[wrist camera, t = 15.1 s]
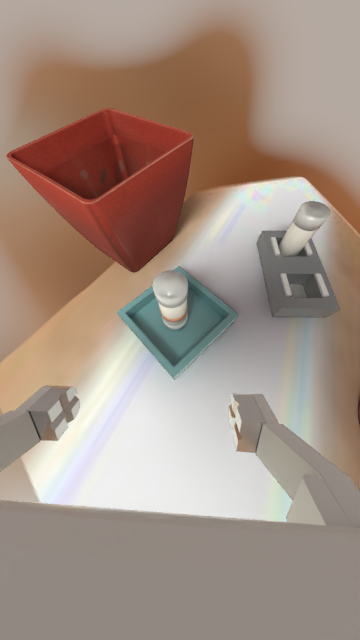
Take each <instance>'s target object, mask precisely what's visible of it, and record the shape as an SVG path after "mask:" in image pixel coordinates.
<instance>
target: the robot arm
mask: <svg viewBox="0 0 360 640" xmlns="http://www.w3.org/2000/svg"><path fill="white" fill-rule="evenodd" d="M76 394H77V390H76V388H75V387H68V386H50V385H46V386H43V387H42V388H40V389H39V390H38V391H37V392H36V393H35V394H33V395H32V396H31V397H30V398H29V399H28V400H26V401H25V402H24V403H23V404H22V405H21V406H19V407H18V408H17V409H16V410H15V411H10V412H7V413H5V414H3V415H1V416H0V472H1V471H2V470H3V469H5V468H6V467H7V466H9V465H10V464H11V463H13V462H14V461H15V460H16V459H18V458H19V457H21V456H22V455H23V454H24V453H26V452H27V451H28V450H30V449H31V448H32V447H34V446H35V445H36V444H38V443H39V442H40V440H51V441H58V440H59V439H60V437H61V436H62V435H63V433H64V432H65V431H66V429H67V428H68V423H69V422H70V421H72V420H73V419H74V418H75V417H76V415H77V414H78V411H79V408H80V401H79V399H78V398H77V397H76ZM230 402H231V405H230V406H229V410H228V416H229V423H230V427H231V428H232V429H233V440H234V444H235V448H236V451H240V452H251V453H256V455H257V456H258V458H259V459H260V460H261V461H262V463H263V464H264V465H265V466H266V468H267V469H268V470H269V471H270V473H271V474H272V475H273V476H274V478H275V479H276V480H277V481H278V483H279V484H280V485H281V486H282V488H283V489H284V490H285V491H286V493H287V494H288V495H289V496H290V498H291V499H292V500H293V502H292V505H291V507H290V510H289V512H288V515H287V517H286V518H287V520H288V522H276V521H264V520H251V519H238V518H226V517H213V516H200V515H188V514H175V513H162V512H150V511H137V510H124V509H112V508H99V507H86V506H73V505H61V504H48V503H35V502H22V501H9V500H0V640H360V491H359V490H358V488H357V487H356V485H355V484H354V483H353V481H352V480H351V479H350V477H349V476H348V475H347V474H345V473H344V472H343V471H341V470H340V469H339V468H338V467H336V466H335V465H334V464H333V463H331V462H330V461H329V460H327V459H326V458H325V457H324V456H322V455H321V454H320V453H319V452H317V451H316V450H315V449H313V448H312V447H311V446H310V445H308V444H307V443H306V442H305V441H303V440H302V439H301V438H300V437H298V436H297V435H296V434H294V433H293V432H292V431H291V430H289V429H288V428H287V427H286V426H284V425H283V424H279V423H278V421H277V419H276V417H275V415H274V414H273V412H272V410H271V408H270V406H269V405H268V403H267V401H266V399H265V397H264V396H263V395H262V394H232V393H231V395H230Z"/></svg>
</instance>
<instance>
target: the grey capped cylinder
mask: <svg viewBox="0 0 360 640" xmlns="http://www.w3.org/2000/svg"><path fill="white" fill-rule="evenodd" d="M153 291H154V294H155V297H156V300H157V302H158V304H159V307H160V312H161V315H162V319H163V322H164V325H165V326H166V328H168V329H169V330H172V331H179V330H181V329H183V328H184V327H185V326H186V324H187V320H188V314H187V296H188V282H187V279H186V277H185V276H184V275H183V274H181V273H179V272H177V271H165V272H162V273H161V274H159V275H158V276H157V277H156V278H155V279H154V281H153Z"/></svg>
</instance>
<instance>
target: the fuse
mask: <svg viewBox="0 0 360 640" xmlns="http://www.w3.org/2000/svg"><path fill="white" fill-rule="evenodd" d="M329 215H330V209H329V208H328V207H327V206H326V205H324V204H322V203H320V202H315V201H309V202H305V203H304V204H302V206H301V207H300V209H299V211H298V212H297V214H296V216H295V217H294V220H293V222H292V224H291V225H290V227H289V229H288V230H287V232H286V233H285V235H284V237H283V238H282V240H281V242H280V243H279V245H278V248H279V251H280V255H279V257H297V256H298V254H299V252H300V251H301V250H302V249H303V247H304V246H305V245H306V243H307V242H308V241H309V240H310V238H311V237H312V236H313V234H314V233H315V232H316V231H317V229H319V228H320V227H321V225H322V224H323V223H324V221H325V220H326V219H327V218H328V216H329Z"/></svg>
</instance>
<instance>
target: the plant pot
mask: <svg viewBox="0 0 360 640" xmlns="http://www.w3.org/2000/svg"><path fill="white" fill-rule="evenodd" d="M193 137H194V136H193V134H192V133H190V132H187V131H184V130H180V129H177V128H174V127H171V126H167V125H164V124H161V123H158V122H155V121H151V120H148V119H145V118H142V117H138V116H135V115H132V114H129V113H125V112H122V111H119V110H115V109H112V108H107V109H103V110H100V111H98V112H96V113H94V114H92V115H89V116H87V117H85V118H83V119H80V120H78V121H76V122H74V123H72V124H69V125H67V126H65V127H63V128H61V129H58V130H56V131H54V132H52V133H50V134H48V135H45V136H43V137H41V138H39V139H37V140H34V141H32V142H31V143H28V144H26V145H24V146H21V147H19V148H17V149H15V150H13V151H11V152H9V153H8V154H7V156H6V157H7V158H8V160H9V161H10V162H11V163H12V164H13V165H14V167H15V168H16V169H17V170H18V171H19V172H20V173H21V174H22V176H23V177H24V178H25V179H26V180H27V181H28V182H29V183H30V184H31V185H32V187H33V188H34V189H35V190H36V191H37V192H38V193H39V194H40V195H41V196H42V197H43V198H44V199H45V200H46V201H47V202H48V203H49V204H50V205H51V206H52V207H53V208H54V209H55V210H56V211H57V212H58V213H59V214H60V215H61V216H62V217H63V218H64V219H65V220H66V221H67V222H68V223H69V224H70V225H72V226H73V227H74V228H75V229H76V230H77V231H78V232H79V233H80V234H81V235H83V236H84V237H85V238H86V239H87V240H88V241H89V242H90V243H92V244H93V245H94V246H95V247H96V248H98V249H99V250H100V251H102V252H103V253H105V254H106V255H108V256H109V257H111V258H112V259H113V260H115V261H116V262H118V263H119V264H120V265H122V266H123V267H125V268H126V269H128V270H129V271H131V272H137V271H138V270H139V269H141V268H142V267H143V266H144V265H145V264H146V263H147V262H148V261H149V260H151V259H152V258H153V257H154V256H155V255H156V254H157V253H158V252H159V251H161V250H162V249H163V248H164V247H165V246H166V245H167V244H168V243H169V242H171V240H172V238H173V236H174V233H175V230H176V227H177V223H178V220H179V216H180V213H181V209H182V205H183V200H184V196H185V191H186V186H187V180H188V174H189V168H190V161H191V155H192V147H193Z"/></svg>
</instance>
